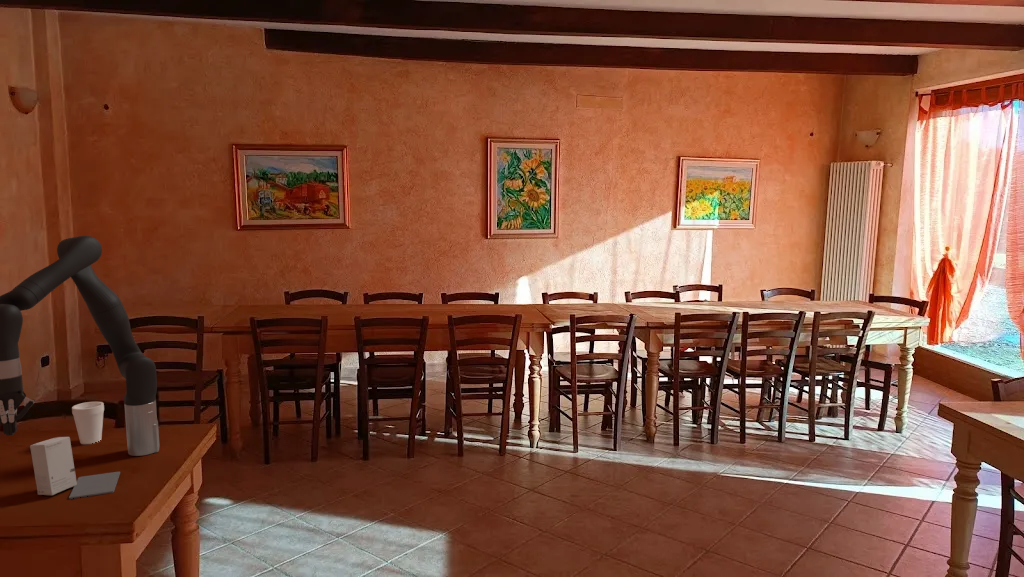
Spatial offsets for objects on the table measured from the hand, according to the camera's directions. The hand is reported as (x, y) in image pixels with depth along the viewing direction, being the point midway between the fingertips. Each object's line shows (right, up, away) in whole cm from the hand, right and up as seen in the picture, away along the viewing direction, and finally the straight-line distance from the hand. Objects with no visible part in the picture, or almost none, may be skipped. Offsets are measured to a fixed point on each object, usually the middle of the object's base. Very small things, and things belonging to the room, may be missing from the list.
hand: (10, 434), depth 192 cm
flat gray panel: (+18, -17, +10) cm, 27 cm away
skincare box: (+9, -18, +6) cm, 21 cm away
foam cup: (-7, -13, +48) cm, 50 cm away
